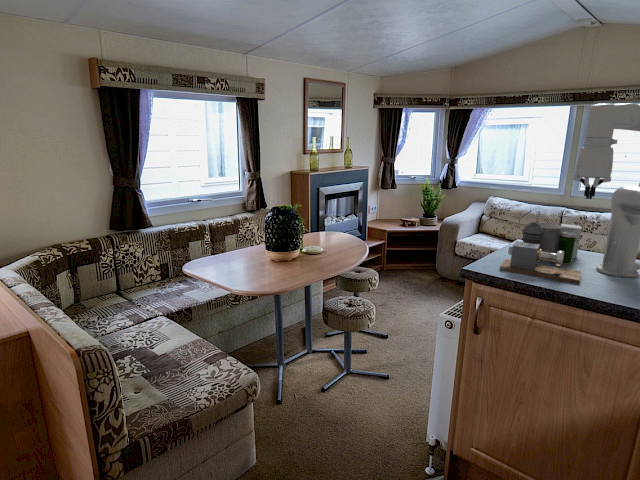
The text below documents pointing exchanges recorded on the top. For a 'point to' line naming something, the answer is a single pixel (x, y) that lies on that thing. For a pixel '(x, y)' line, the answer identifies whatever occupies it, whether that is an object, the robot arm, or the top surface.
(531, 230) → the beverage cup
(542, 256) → the shaft
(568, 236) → the beer can
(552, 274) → the machine model
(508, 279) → the top surface
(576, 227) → the supplement box
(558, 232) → the pillar candle
